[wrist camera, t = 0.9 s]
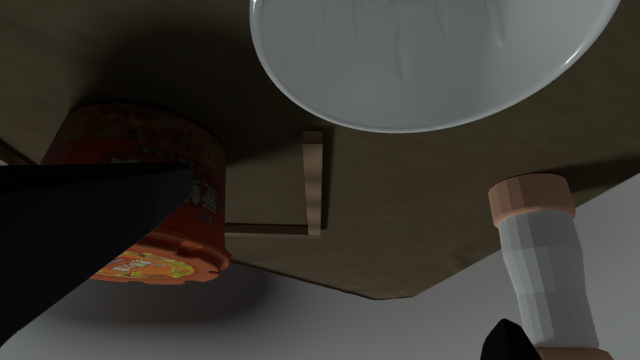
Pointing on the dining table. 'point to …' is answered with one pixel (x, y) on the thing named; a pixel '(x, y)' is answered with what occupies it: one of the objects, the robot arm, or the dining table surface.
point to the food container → (156, 146)
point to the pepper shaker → (546, 265)
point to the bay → (313, 200)
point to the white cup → (419, 55)
